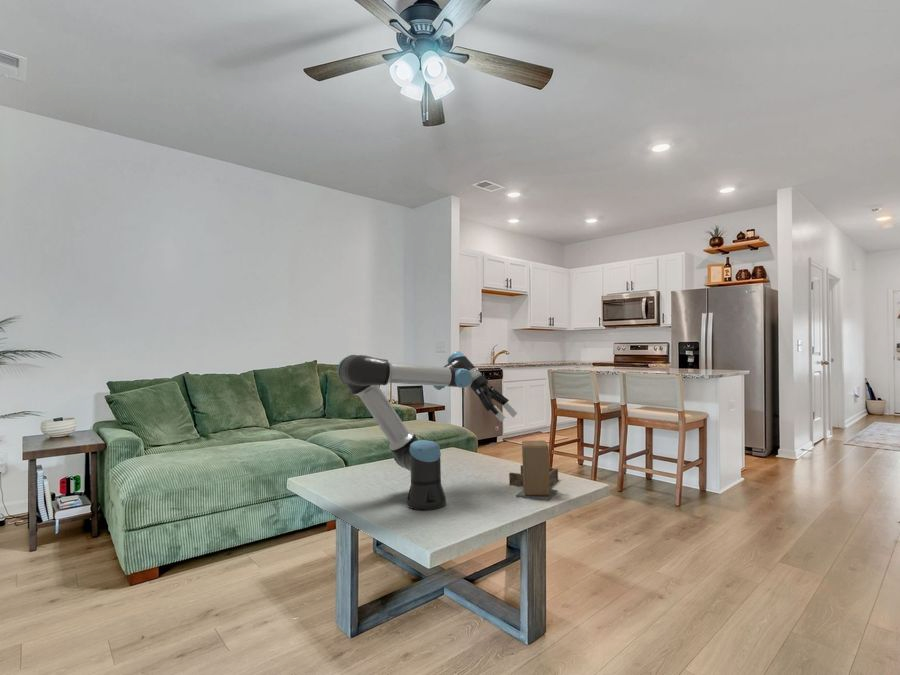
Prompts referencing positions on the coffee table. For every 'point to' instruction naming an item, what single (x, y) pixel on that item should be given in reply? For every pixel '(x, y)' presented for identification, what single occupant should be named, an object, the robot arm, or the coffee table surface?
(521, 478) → the wooden u-shaped frame
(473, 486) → the coffee table surface
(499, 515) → the coffee table surface
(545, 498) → the pad
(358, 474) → the coffee table surface
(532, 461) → the wooden block
